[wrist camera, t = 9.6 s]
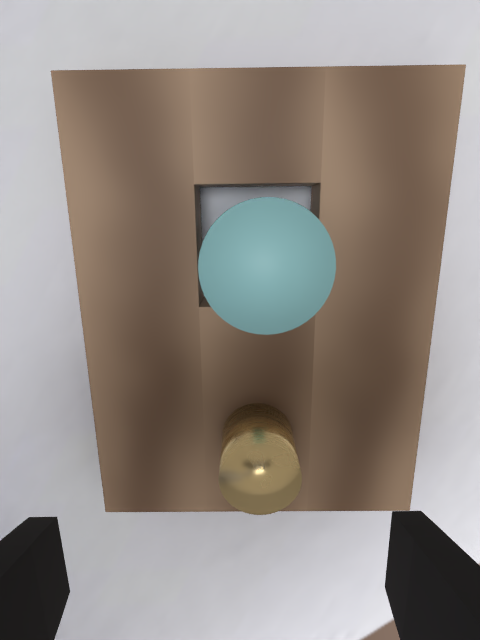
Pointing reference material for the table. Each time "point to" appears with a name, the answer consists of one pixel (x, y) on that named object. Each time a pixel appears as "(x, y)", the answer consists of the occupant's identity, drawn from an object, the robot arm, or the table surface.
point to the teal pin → (267, 265)
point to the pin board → (219, 336)
